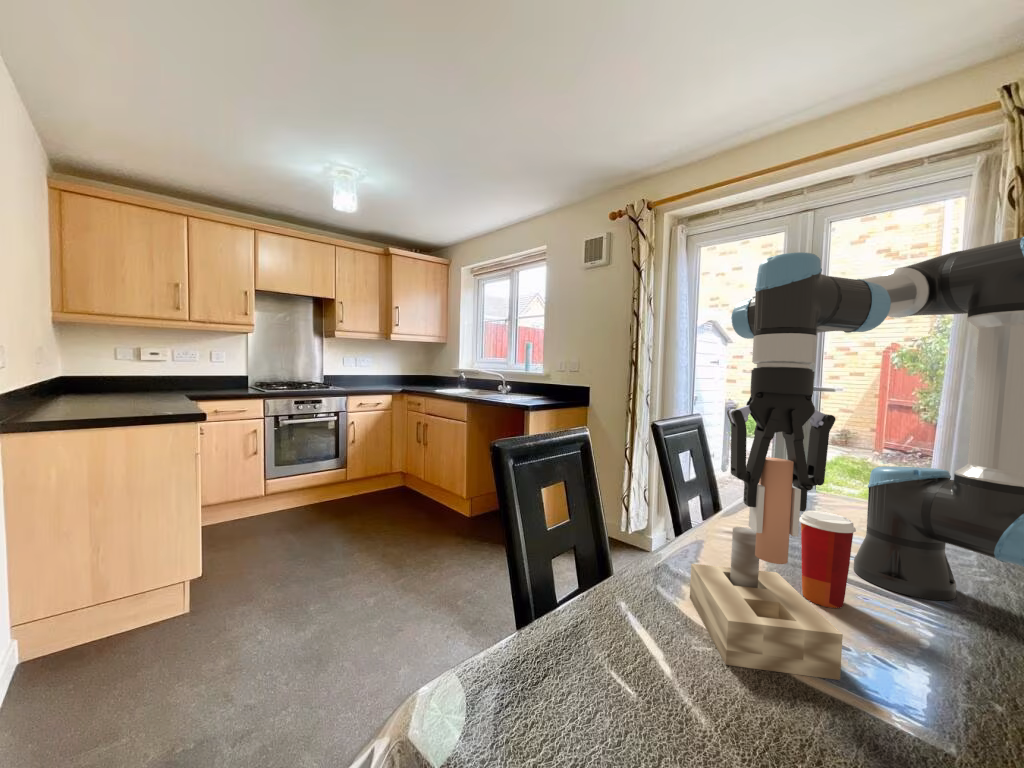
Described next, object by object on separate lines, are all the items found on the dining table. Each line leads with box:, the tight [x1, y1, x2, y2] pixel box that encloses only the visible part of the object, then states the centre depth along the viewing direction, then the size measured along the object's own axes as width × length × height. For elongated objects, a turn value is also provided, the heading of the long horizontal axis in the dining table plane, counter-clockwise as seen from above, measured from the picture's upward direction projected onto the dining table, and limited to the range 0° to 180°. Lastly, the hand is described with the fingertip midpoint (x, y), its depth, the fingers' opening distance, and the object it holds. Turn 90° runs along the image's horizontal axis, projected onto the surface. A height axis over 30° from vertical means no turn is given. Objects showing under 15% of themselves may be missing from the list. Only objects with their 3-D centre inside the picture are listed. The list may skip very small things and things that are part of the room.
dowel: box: [755, 456, 794, 565], centre depth 60 cm, size 4×4×14 cm
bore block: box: [689, 526, 843, 681], centre depth 65 cm, size 14×18×14 cm
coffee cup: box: [799, 510, 857, 609], centre depth 76 cm, size 8×8×15 cm
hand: (772, 530), depth 60 cm, fingers closed on dowel, 4 cm apart
